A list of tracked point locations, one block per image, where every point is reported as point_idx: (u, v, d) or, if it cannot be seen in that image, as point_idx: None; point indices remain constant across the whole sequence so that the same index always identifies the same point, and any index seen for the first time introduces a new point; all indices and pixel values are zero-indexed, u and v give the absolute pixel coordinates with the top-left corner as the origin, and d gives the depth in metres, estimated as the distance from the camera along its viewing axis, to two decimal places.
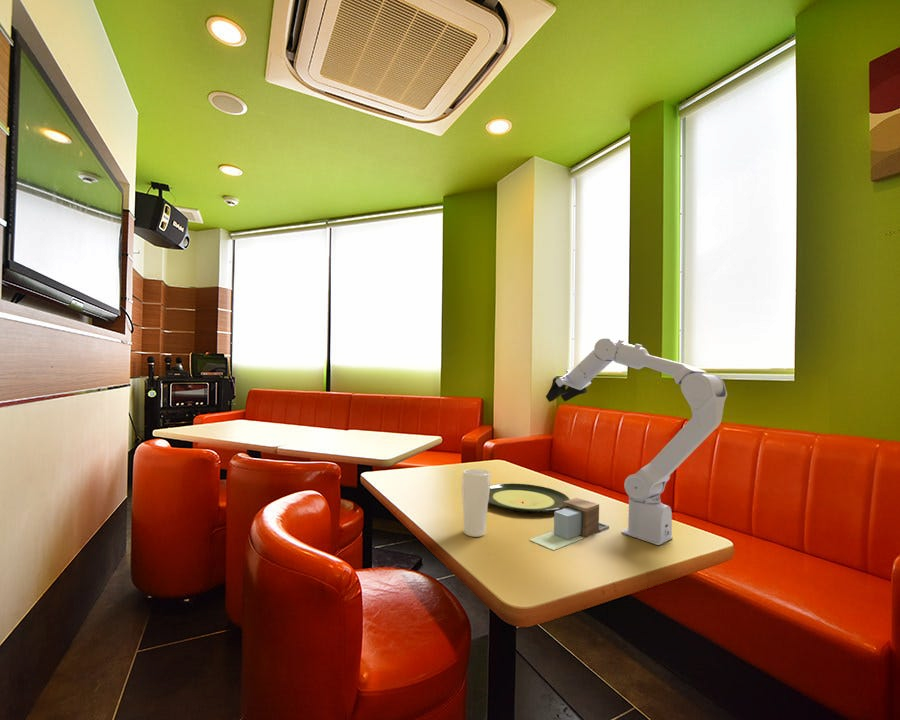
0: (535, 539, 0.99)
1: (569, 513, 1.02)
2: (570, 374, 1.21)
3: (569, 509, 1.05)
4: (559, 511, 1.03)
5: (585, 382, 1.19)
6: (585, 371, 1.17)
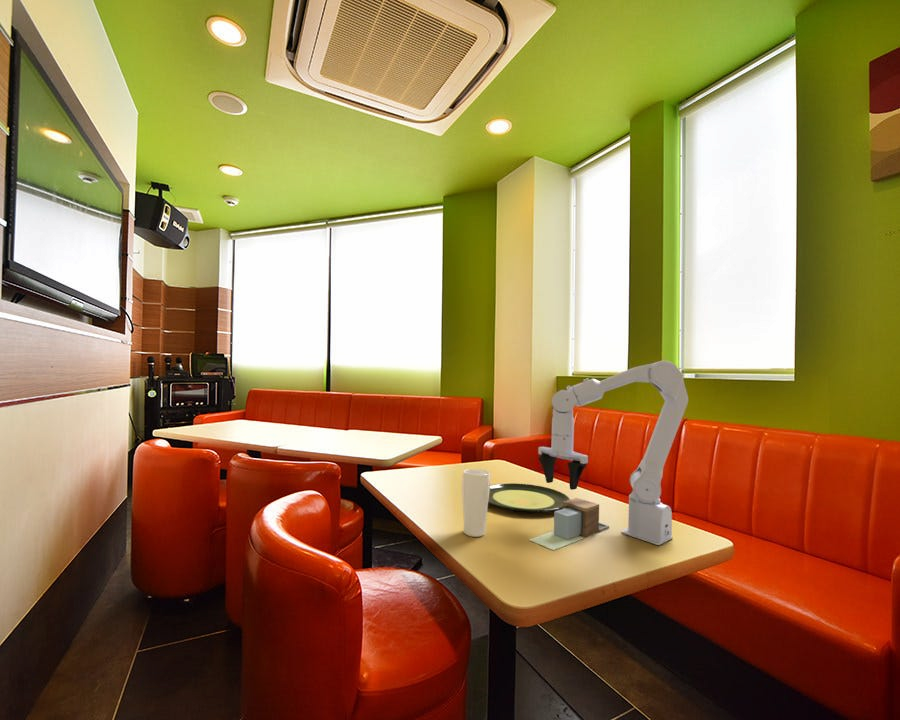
0: (535, 539, 0.99)
1: (569, 513, 1.02)
2: (566, 450, 1.09)
3: (569, 509, 1.05)
4: (559, 511, 1.03)
5: None
6: (566, 433, 1.09)
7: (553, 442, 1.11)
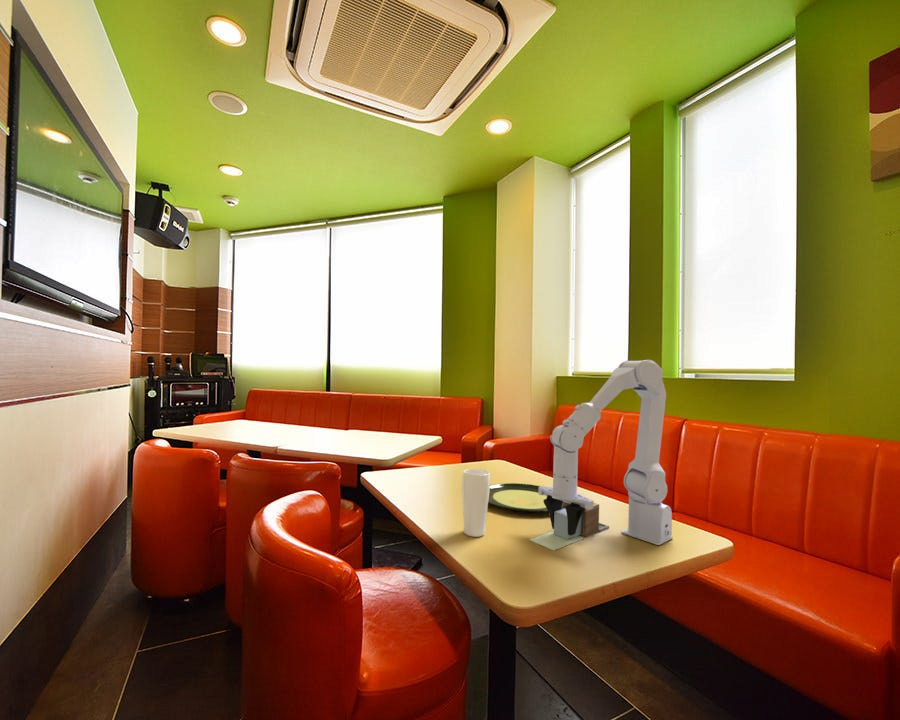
0: (535, 539, 0.99)
1: None
2: (569, 493, 0.99)
3: None
4: (559, 511, 1.03)
5: None
6: (574, 474, 1.00)
7: (555, 484, 1.01)
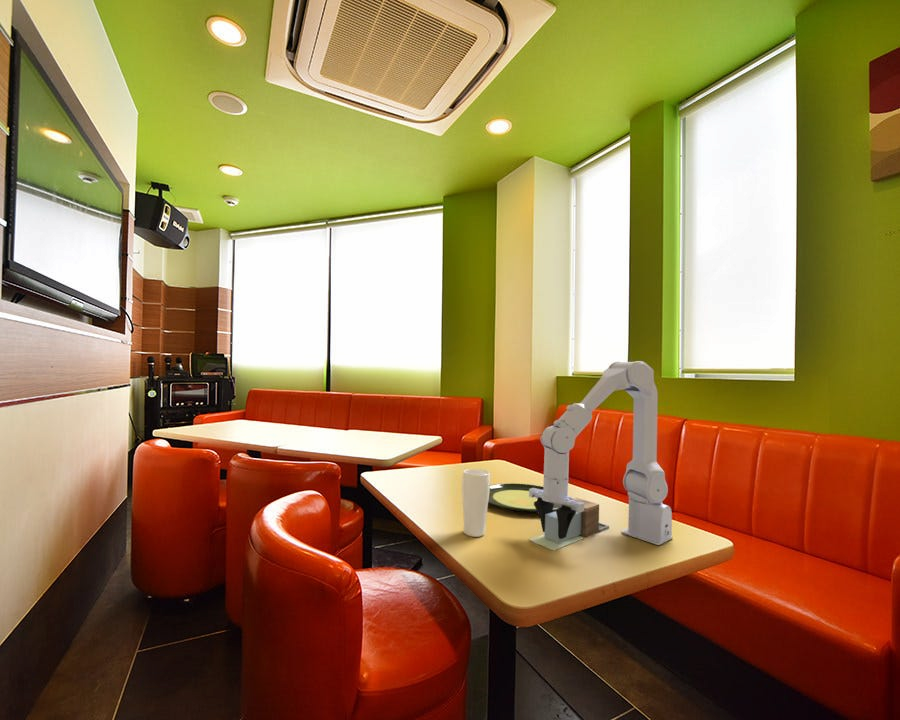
0: (535, 539, 0.99)
1: None
2: (560, 495, 0.97)
3: None
4: (550, 514, 1.00)
5: None
6: (565, 476, 0.97)
7: (545, 486, 0.99)
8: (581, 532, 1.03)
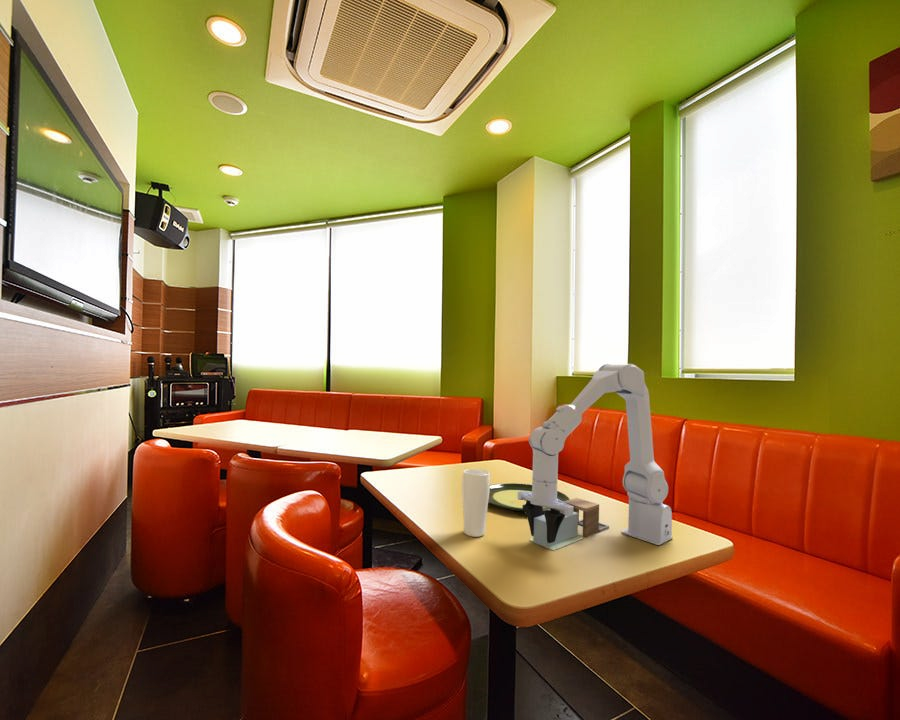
0: None
1: None
2: (549, 498, 0.94)
3: None
4: (539, 517, 0.98)
5: None
6: (555, 478, 0.95)
7: (534, 488, 0.96)
8: (571, 536, 1.00)
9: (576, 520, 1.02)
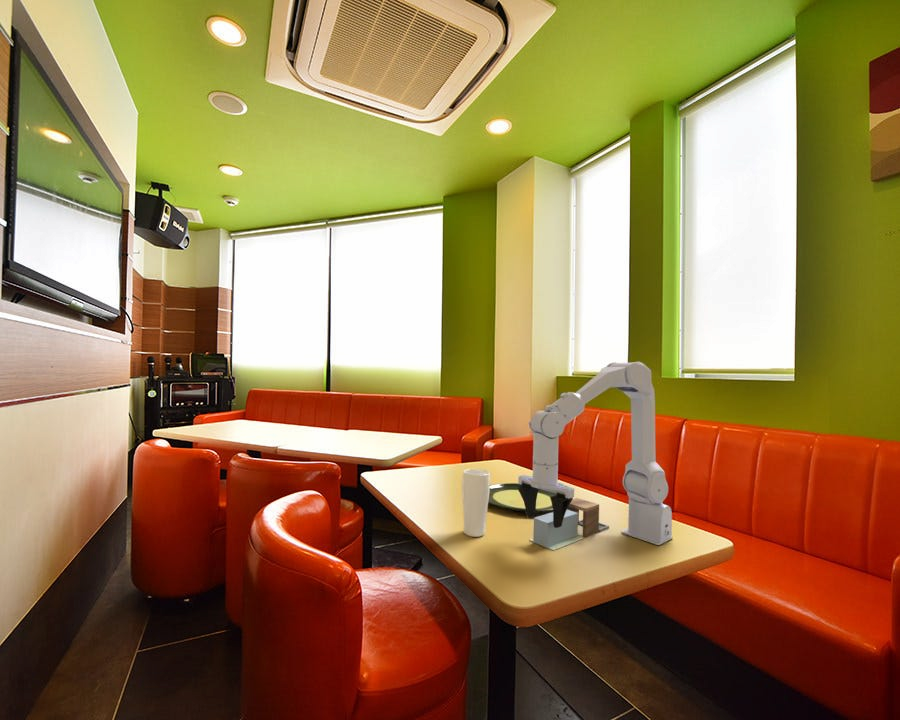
0: None
1: (550, 519, 0.97)
2: (549, 481, 0.94)
3: (550, 515, 1.00)
4: (539, 517, 0.98)
5: None
6: (555, 461, 0.95)
7: (534, 472, 0.96)
8: (571, 536, 1.00)
9: (576, 520, 1.02)
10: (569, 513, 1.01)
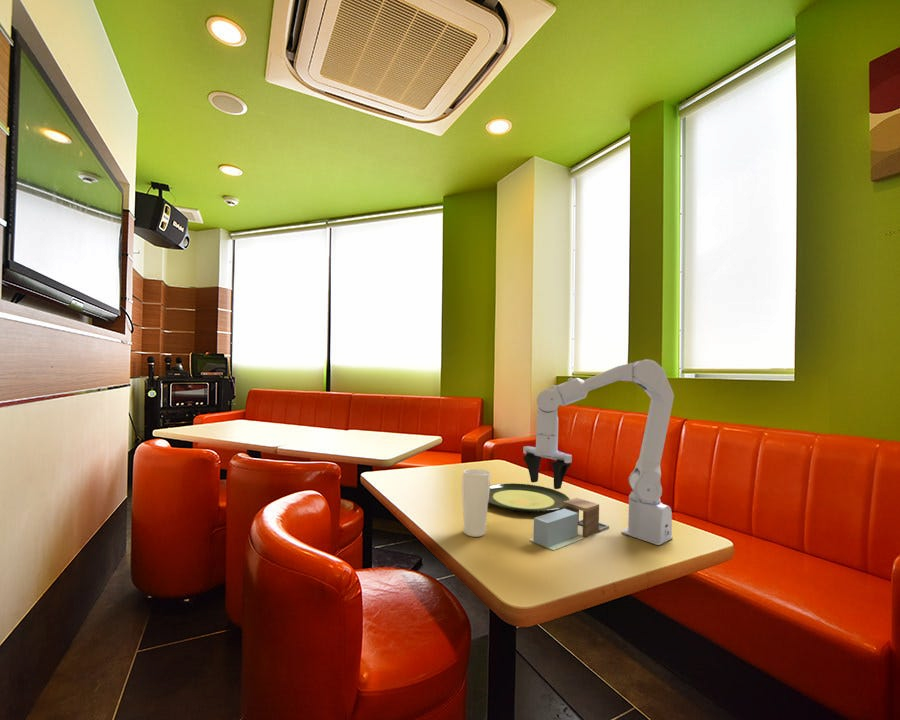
0: None
1: (550, 519, 0.97)
2: (550, 449, 1.09)
3: (550, 515, 1.00)
4: (539, 517, 0.98)
5: None
6: (551, 432, 1.09)
7: (537, 441, 1.11)
8: (571, 536, 1.00)
9: (576, 520, 1.02)
10: (569, 513, 1.01)
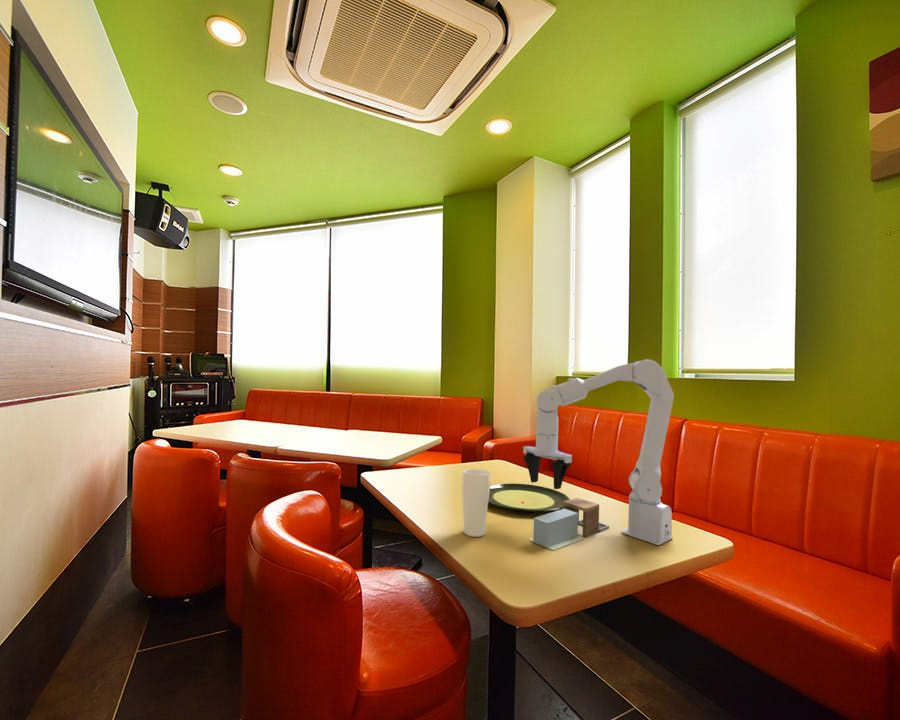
0: None
1: (550, 519, 0.97)
2: (550, 449, 1.09)
3: (550, 515, 1.00)
4: (539, 517, 0.98)
5: None
6: (551, 432, 1.09)
7: (537, 441, 1.11)
8: (571, 536, 1.00)
9: (576, 520, 1.02)
10: (569, 513, 1.01)
